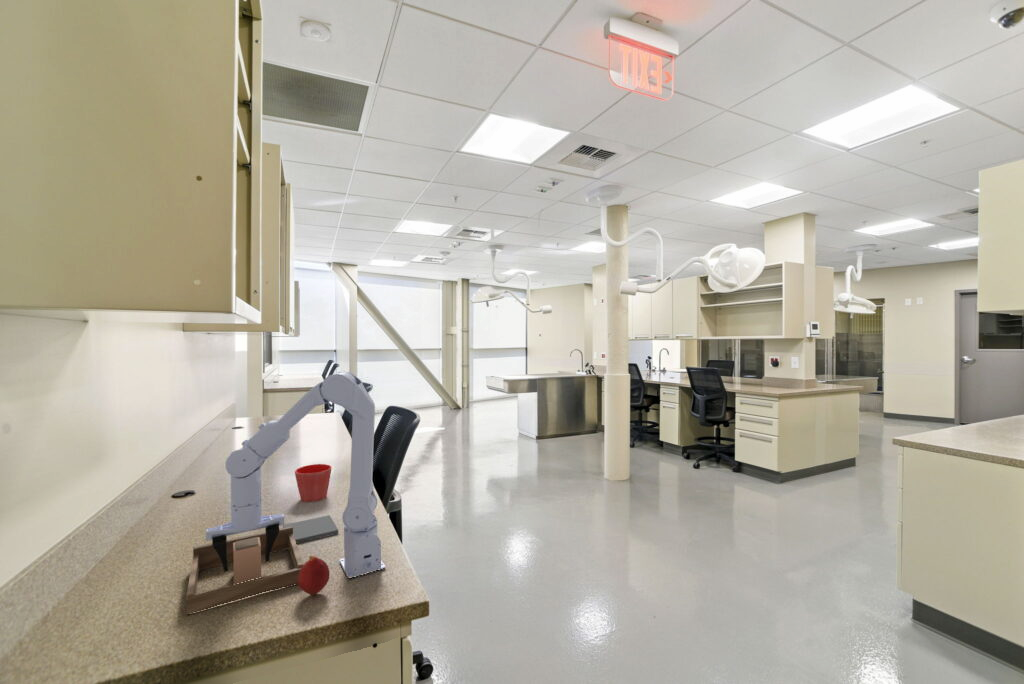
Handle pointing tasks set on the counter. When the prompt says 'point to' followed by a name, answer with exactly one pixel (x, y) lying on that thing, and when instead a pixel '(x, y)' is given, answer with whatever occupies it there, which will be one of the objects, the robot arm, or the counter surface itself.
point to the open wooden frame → (210, 558)
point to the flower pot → (313, 481)
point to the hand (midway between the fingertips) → (247, 564)
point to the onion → (313, 575)
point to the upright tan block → (247, 559)
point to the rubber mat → (313, 528)
